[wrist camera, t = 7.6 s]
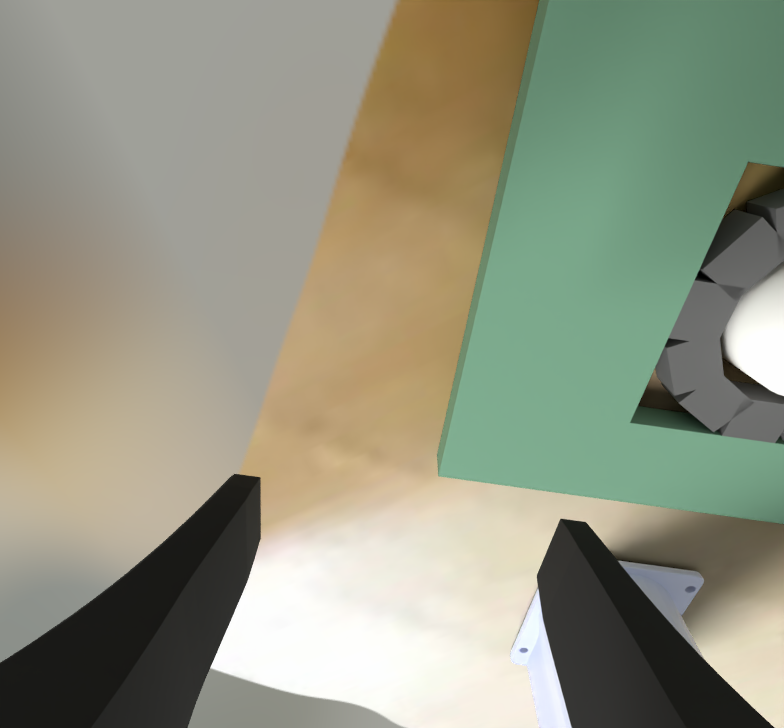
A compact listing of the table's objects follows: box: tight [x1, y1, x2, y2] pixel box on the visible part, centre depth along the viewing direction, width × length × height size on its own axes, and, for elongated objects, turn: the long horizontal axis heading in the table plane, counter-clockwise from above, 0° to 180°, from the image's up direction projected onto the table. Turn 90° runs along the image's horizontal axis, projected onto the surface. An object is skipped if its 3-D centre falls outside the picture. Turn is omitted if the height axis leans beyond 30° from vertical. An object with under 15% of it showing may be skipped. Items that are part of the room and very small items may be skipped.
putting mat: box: [437, 0, 784, 524], centre depth 17 cm, size 18×18×2 cm
